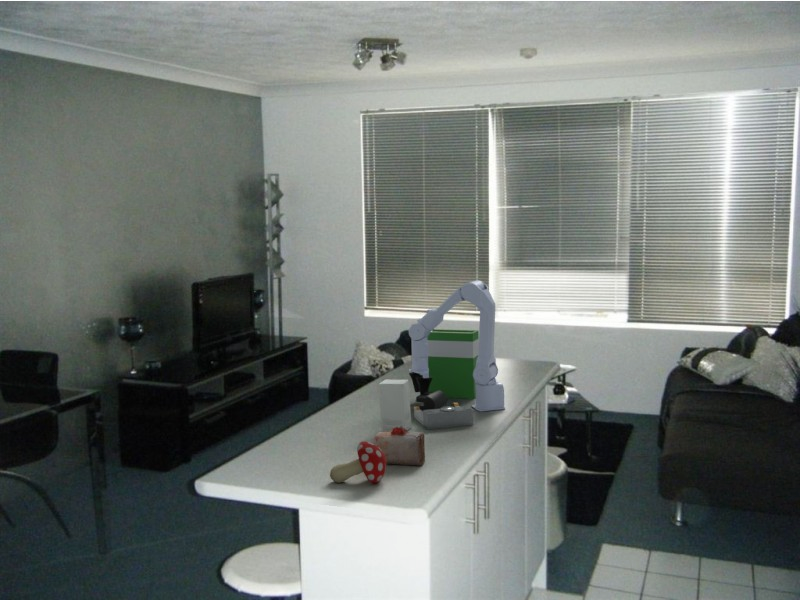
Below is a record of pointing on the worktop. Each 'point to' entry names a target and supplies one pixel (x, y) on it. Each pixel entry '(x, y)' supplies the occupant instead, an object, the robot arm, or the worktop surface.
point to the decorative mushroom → (362, 464)
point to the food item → (402, 446)
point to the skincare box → (394, 404)
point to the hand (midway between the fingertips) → (421, 394)
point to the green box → (453, 362)
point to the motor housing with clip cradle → (445, 416)
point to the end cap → (432, 400)
